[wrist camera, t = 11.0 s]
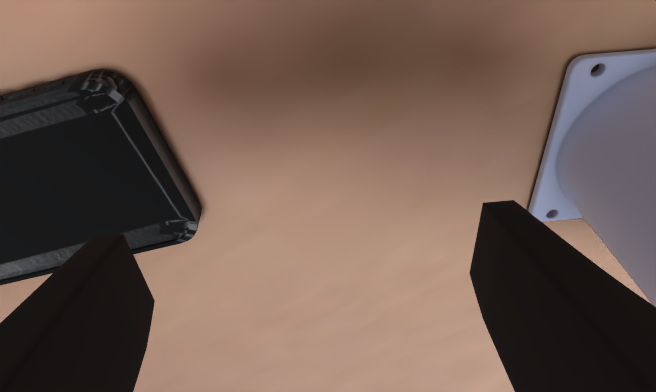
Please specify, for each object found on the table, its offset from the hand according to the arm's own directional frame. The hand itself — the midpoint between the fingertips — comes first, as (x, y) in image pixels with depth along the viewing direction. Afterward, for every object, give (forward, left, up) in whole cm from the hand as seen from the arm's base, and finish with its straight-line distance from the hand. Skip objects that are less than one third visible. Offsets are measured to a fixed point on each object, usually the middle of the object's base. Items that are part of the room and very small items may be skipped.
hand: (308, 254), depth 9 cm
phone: (+13, +4, -9) cm, 17 cm away
